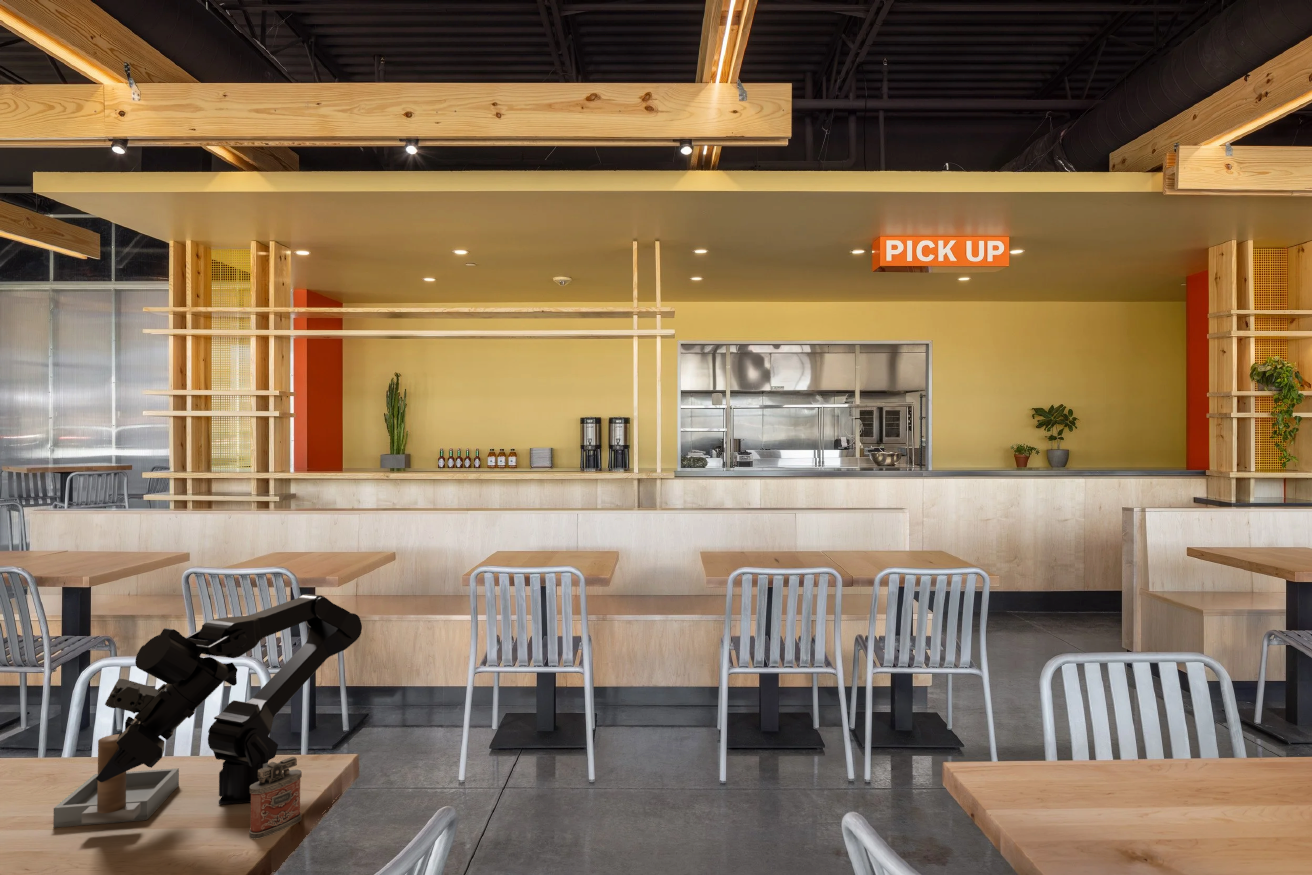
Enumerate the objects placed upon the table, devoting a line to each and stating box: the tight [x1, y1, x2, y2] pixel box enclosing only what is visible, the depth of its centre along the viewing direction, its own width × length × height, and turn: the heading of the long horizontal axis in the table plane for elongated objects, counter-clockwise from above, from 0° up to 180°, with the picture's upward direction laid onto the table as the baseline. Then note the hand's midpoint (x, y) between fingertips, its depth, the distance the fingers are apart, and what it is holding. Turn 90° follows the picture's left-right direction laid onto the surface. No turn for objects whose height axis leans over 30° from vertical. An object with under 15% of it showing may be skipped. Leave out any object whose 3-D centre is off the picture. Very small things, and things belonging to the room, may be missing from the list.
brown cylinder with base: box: [82, 733, 141, 823], centre depth 121 cm, size 7×4×12 cm, turn 102°
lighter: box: [248, 756, 303, 840], centre depth 123 cm, size 8×3×10 cm, turn 148°
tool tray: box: [52, 767, 180, 828], centre depth 130 cm, size 13×13×3 cm
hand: (100, 775), depth 121 cm, fingers closed on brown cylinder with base, 4 cm apart
